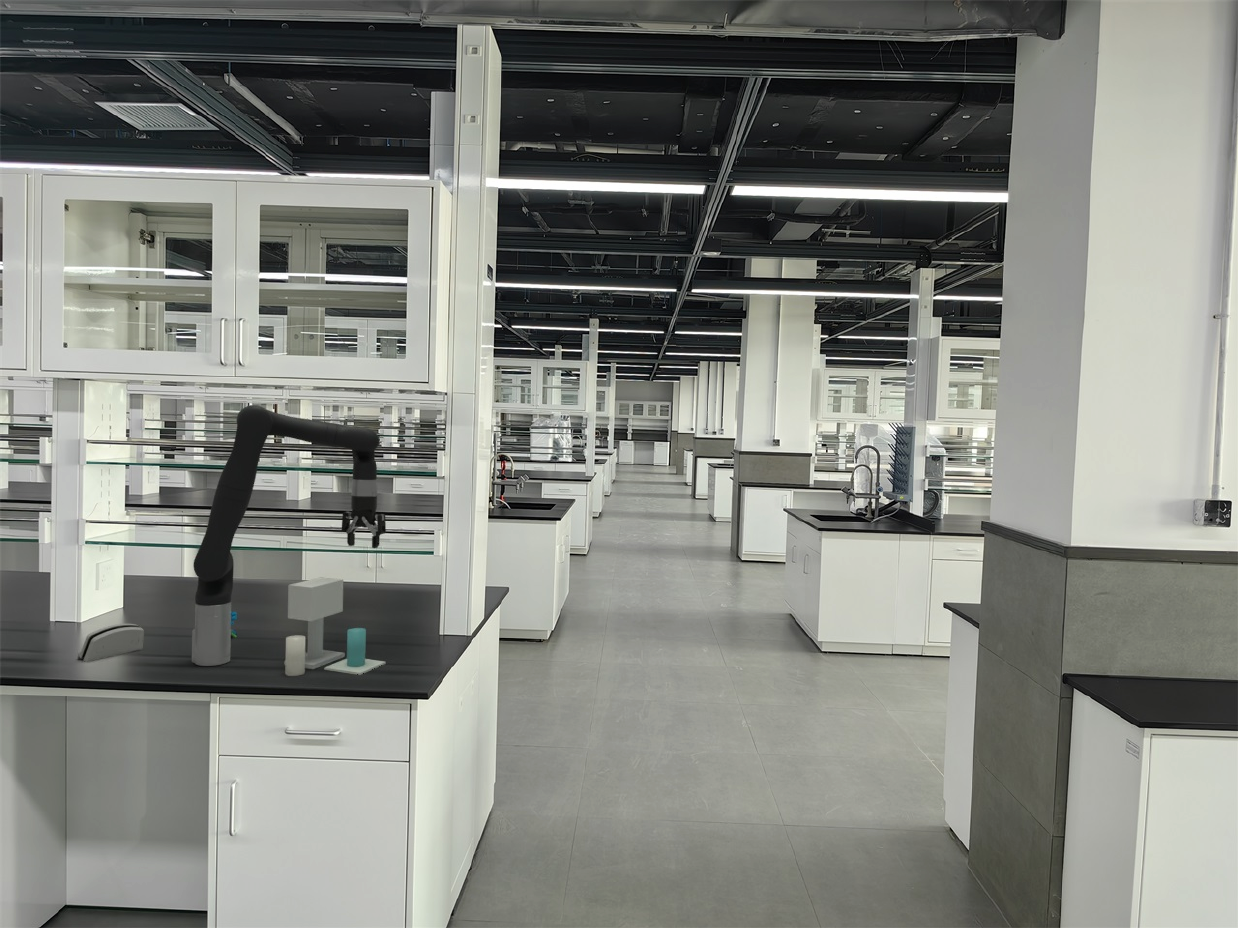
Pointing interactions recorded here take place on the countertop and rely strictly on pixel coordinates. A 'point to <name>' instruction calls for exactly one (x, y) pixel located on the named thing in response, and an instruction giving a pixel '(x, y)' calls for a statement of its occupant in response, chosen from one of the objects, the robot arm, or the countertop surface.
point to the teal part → (356, 647)
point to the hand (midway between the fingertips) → (363, 546)
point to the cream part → (295, 655)
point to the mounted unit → (316, 614)
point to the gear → (233, 617)
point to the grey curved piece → (112, 641)
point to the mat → (343, 667)
